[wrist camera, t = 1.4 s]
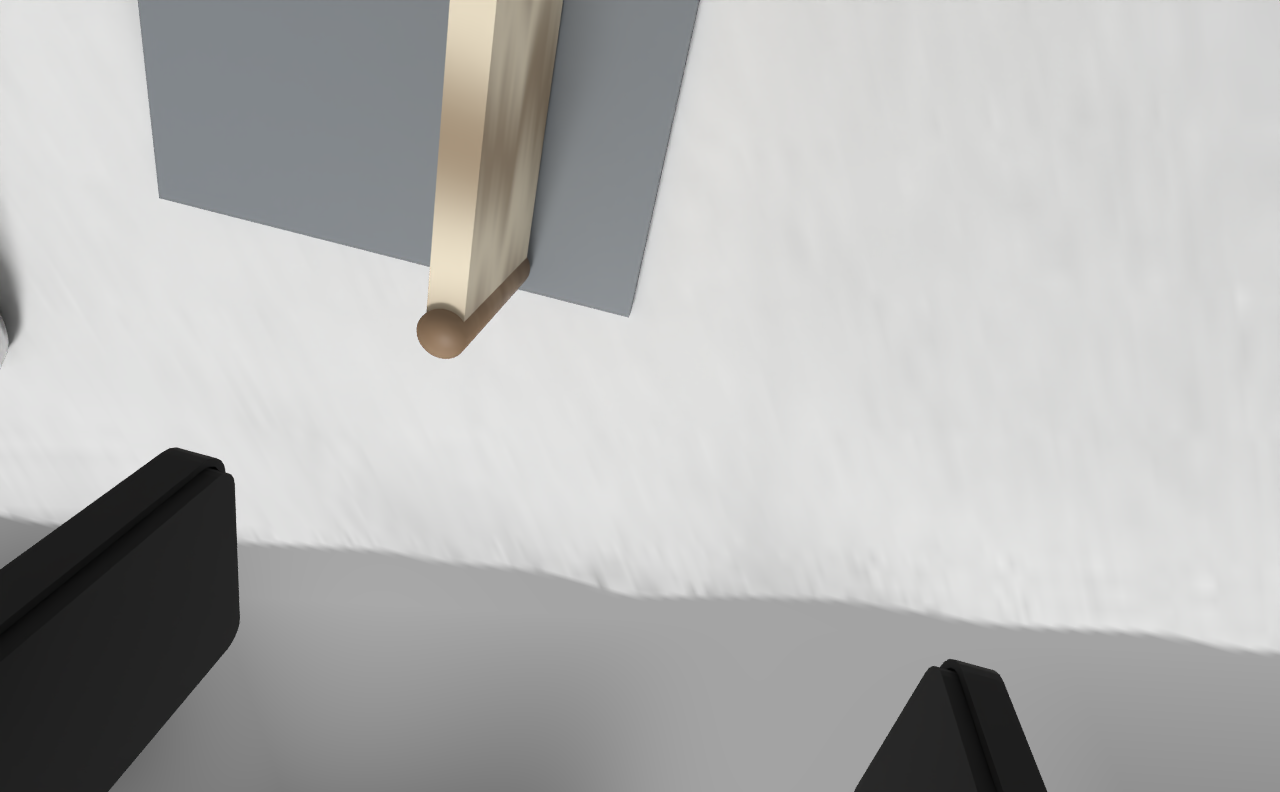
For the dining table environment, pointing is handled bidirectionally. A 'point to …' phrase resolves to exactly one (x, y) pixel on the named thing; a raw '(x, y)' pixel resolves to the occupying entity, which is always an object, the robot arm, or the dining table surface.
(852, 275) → the dining table surface
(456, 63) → the fence gate
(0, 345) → the plastic bottle
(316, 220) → the board
